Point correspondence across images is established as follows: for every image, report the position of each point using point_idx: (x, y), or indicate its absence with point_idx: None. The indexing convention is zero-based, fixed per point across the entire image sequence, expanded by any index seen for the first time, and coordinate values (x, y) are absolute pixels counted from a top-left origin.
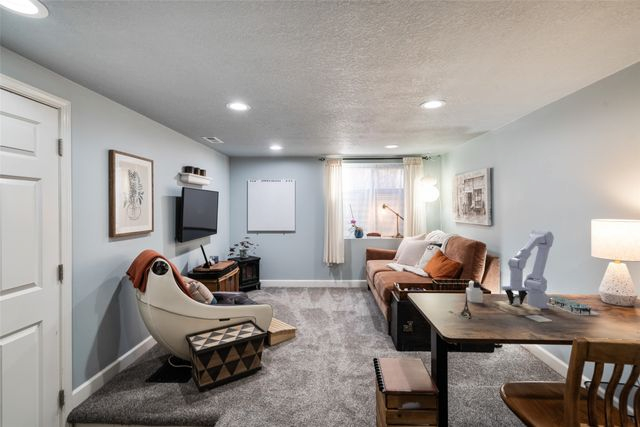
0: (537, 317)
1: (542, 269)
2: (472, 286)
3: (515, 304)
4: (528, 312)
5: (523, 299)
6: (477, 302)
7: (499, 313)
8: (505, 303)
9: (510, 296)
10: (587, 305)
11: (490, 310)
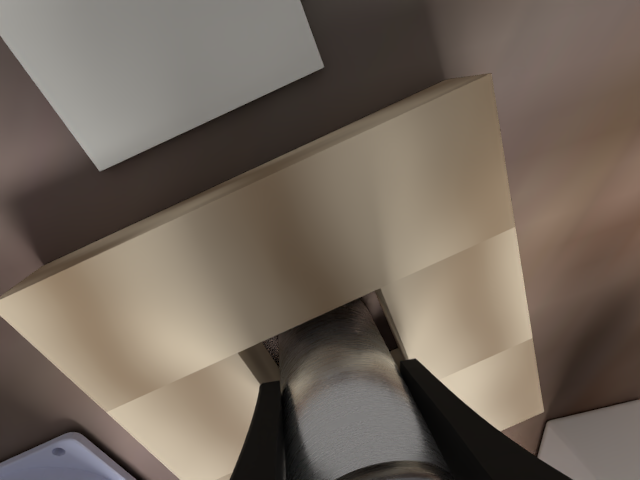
0: (139, 18)
1: None
2: None
3: (369, 347)
4: (233, 182)
5: (242, 465)
6: (587, 412)
7: (598, 126)
8: None
9: (533, 458)
10: None
11: (624, 217)
